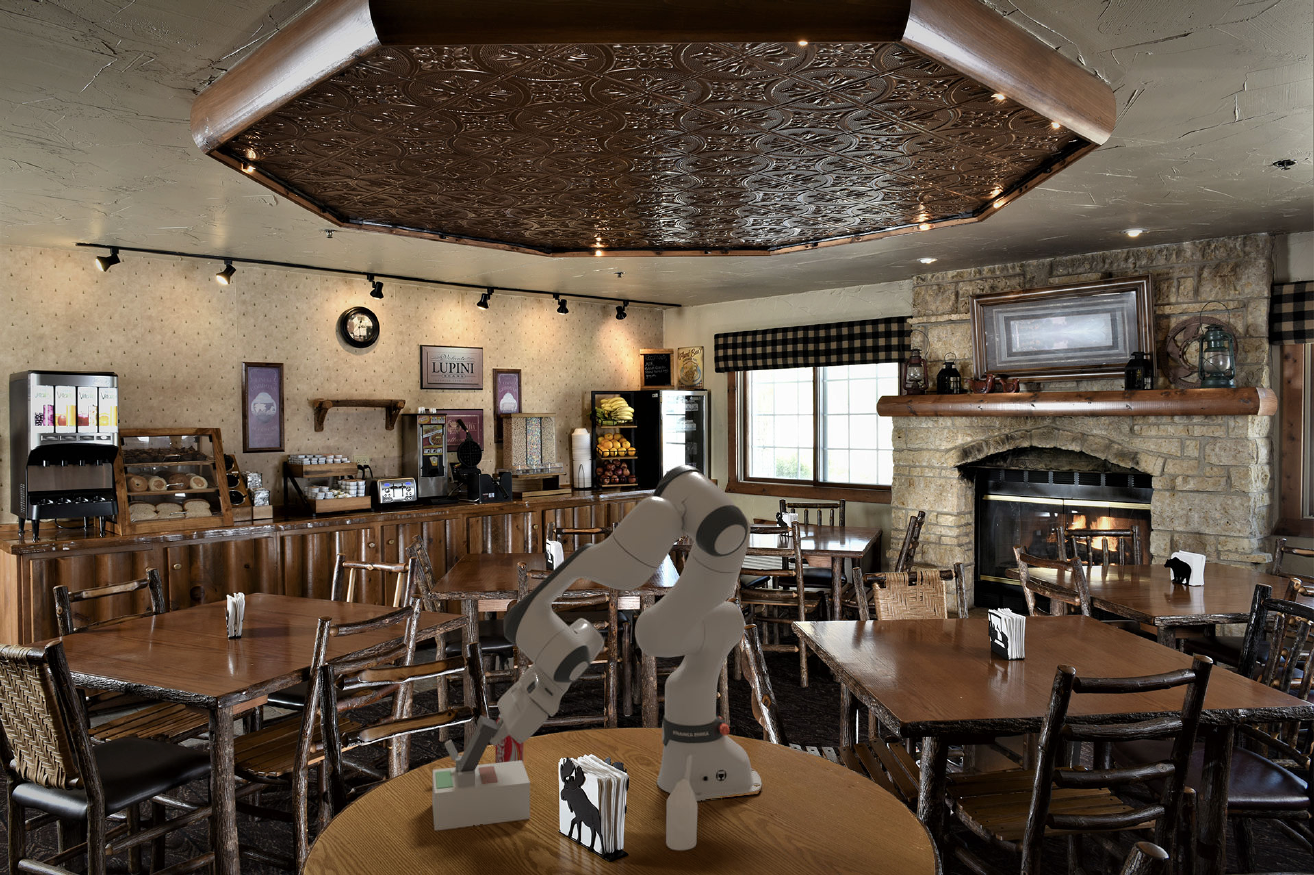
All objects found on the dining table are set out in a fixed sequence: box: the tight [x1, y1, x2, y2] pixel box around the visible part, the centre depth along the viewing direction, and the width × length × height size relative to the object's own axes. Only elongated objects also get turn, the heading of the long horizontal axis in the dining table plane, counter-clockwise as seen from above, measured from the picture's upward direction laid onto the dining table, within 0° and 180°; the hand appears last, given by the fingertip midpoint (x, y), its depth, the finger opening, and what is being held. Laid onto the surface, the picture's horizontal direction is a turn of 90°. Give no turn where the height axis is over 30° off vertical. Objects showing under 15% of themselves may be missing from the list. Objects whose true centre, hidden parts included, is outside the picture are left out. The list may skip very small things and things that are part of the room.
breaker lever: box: [458, 714, 498, 772], centre depth 164 cm, size 3×6×11 cm, turn 17°
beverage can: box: [494, 713, 524, 763], centre depth 187 cm, size 6×6×12 cm
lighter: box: [444, 739, 465, 762], centre depth 182 cm, size 7×2×8 cm, turn 99°
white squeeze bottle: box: [665, 779, 699, 851], centre depth 152 cm, size 6×12×6 cm
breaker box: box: [431, 757, 531, 832], centre depth 165 cm, size 18×12×9 cm, turn 107°
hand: (490, 741), depth 165 cm, fingers closed, pressing on breaker lever
